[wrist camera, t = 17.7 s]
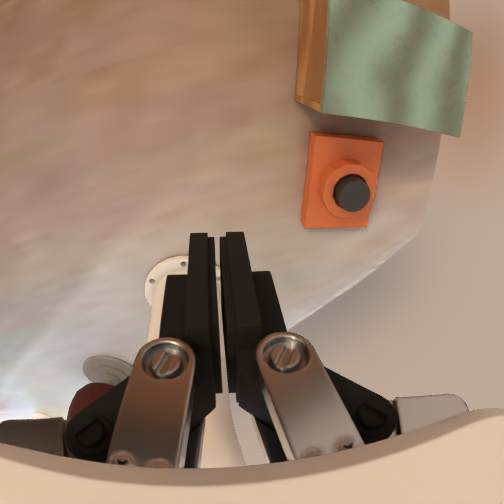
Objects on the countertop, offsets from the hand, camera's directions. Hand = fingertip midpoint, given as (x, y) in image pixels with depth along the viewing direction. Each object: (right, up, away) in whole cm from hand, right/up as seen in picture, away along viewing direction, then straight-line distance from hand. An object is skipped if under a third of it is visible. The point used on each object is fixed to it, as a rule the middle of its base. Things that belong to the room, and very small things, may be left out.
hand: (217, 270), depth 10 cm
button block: (+12, +10, +28) cm, 32 cm away
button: (+13, +8, +25) cm, 29 cm away
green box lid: (+15, +18, +12) cm, 27 cm away
